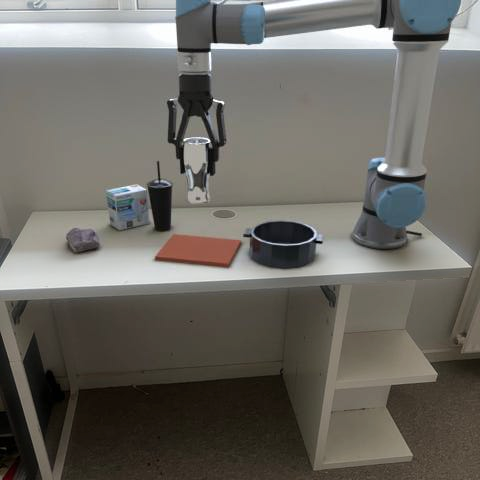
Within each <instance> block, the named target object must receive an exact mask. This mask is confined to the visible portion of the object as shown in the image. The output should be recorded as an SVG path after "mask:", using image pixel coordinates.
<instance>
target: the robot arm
mask: <svg viewBox="0 0 480 480" xmlns="http://www.w3.org/2000/svg"><path fill="white" fill-rule="evenodd" d="M461 5H462V0H266V1H265V0H264V1H261V2H260V1H259V2H252V3H228V4H226V3H225V4H224V3H222V4H221V3H219V4H218V3H212V0H175V16H174V19H175V27H176V28H175V31H176V47H177V48H176V49H177V52H176V53H177V69H178V71H179V72H180V73H179V74H178V93H179V94H178V96H177V98H170V99H168V100H167V101H166V106H167V109H168V122H167V143H168V144H171V145H174V147H175V158H176V160H179V173H180V175H184V174H185V169H184V162H183V140H185V135H186V132H187V128H188V125H189V123H190V119H191V117H198V118H200V119H201V121H202V122H203V125H204V127H205V130H206V134H207V136H208V138H209V140H210V145H211V146H210V147H211V148H210V149H209V155H210V177H214V176H215V175H216V163H218V162H219V161H220V148H221V147H224V146H225V145H226V144H227V143H228V141H227V134H226V125H225V115H224V110H225V105H226V103H225V101H223V100H220V101H219V100H216V99H214V97H213V94H212V75H211V73H210V72H211V71H212V49H211V47H212V44H224V45H246V46H251V45H261V44H263V43H264V41H265V39H267V38H277V37H283V36H291V35H300V34H308V33H315V32H316V33H317V32H324V31H325V32H326V31H332V30H340V29H349V28H357V27H364V26H372V27H373V28H375V30H379V29H388V28H389V29H392V28H393V29H392V39H391V43H392V45H393V46H394V47H395V48H396V49H397V56H396V65H395V73H394V80H393V81H394V82H393V89H392V97H391V105H390V114H389V123H388V129H387V130H388V131H387V138H386V147H385V148H386V149H385V156H384V157H374V158H372V159H371V160H370V161H369V164H368V168H367V169H366V171H367V174H366V181H365V189H364V196H363V202H362V203H363V204H362V211H361V213H360V215H359V217H358V219H357V221H356V223H355V225H354V227H353V229H352V236H351V237H352V240H353V241H354V242H356V243H357V244H359V245H361V246H364V247H367V248H371V249H375V250H393V249H399V248H401V247H404V246H405V245H406V244H407V239H408V234H409V235H412V236H413V235H414V236H417V237H418V236H419V237H422V236H423V233H422V232H417V231H412V230H407V227H408V226H411V225H413V224H414V223H416V222H417V221H419V220H420V219H421V218H422V216H423V215H424V213H425V211H426V208H427V201H428V200H427V194H426V192H425V184H426V178H427V173H428V170H427V168H426V167H425V166H424V165H423V163H422V162H423V155H424V151H425V150H424V149H425V143H426V136H427V130H428V124H429V117H430V112H431V105H432V99H433V93H434V85H435V80H436V73H437V67H438V60H439V56H440V55H439V54H440V51H441V49H442V48H443V47H444V46H445V45H447V44H448V43H449V38H450V33H451V27H452V22H454V20H455V18H456V17H457V15H458V13H459V11H460V8H461ZM179 105H180V107H181V108H182V111H183V112H182V116H181V120H180V123H179V126H178V130H177V116H178V115H177V113H178V108H179ZM212 106H213V109H214V111H215V119H216V126H217V127H216V128H217V133H216V131H215V127H214V124H213V121H212V119H211V114H210V112H209V110H210V109H211V108H212ZM176 133H177V134H176ZM217 134H218V135H217Z"/></svg>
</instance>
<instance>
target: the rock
mask: <svg viewBox="0 0 480 480" xmlns="http://www.w3.org/2000/svg"><path fill="white" fill-rule="evenodd" d="M65 236H66V237H65V239H66V241H67V243H68V245H69V246H70V249H71V250H72V251H73V252H74V253H76V254H77V253H81V252H84V251H87V250H92V249H97V248H99V246H100V245H101V241H100V238H99V235H98V233H97V231H95V229H92V228H85V229H83V228H79V227H73V228H72V229H70V230H69V231H68V232H67V233H66V234H65Z"/></svg>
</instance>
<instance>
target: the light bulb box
mask: <svg viewBox="0 0 480 480" xmlns="http://www.w3.org/2000/svg"><path fill="white" fill-rule="evenodd" d="M105 193H106V201H107V210H108V219H109V225H110V226H112V227H114V228H115V229H116V230H118V231H124V230H128V229H131V228H137V227H140V226H144V225H148V224H150V213H149V211H150V210H149V200H148V189H146V188H144V187H142V186H140V185H139V184H138V183H137V184H132V185H131V184H130V185H127V186H122V187H117V188H111V189H106V190H105Z"/></svg>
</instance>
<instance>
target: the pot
mask: <svg viewBox="0 0 480 480" xmlns="http://www.w3.org/2000/svg"><path fill="white" fill-rule="evenodd" d="M242 235H243V238H248V239H249V256H250V258H251V260H252V261H253V262H255V263H257V264H258V265H261V266H265V267H268V268H271V269H281V270H288V269H289V270H290V269H298V268H302V267H305V266H309V265H310V264H311V263H313V262H314V261H315V259H316V252H317V245H323V243H324V237H325V236H324V234H320V233H319V234H318V232H317V230H316V229H315V228H314V227H313V226H311V225H309V224H306V223H303V222H300V221H295V220H284V219H277V220H268V221H263V222H259V223H256V224H255V225H254V226H252V227H251V228H249V227H246V228H245V230H244V232H243V234H242Z"/></svg>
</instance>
